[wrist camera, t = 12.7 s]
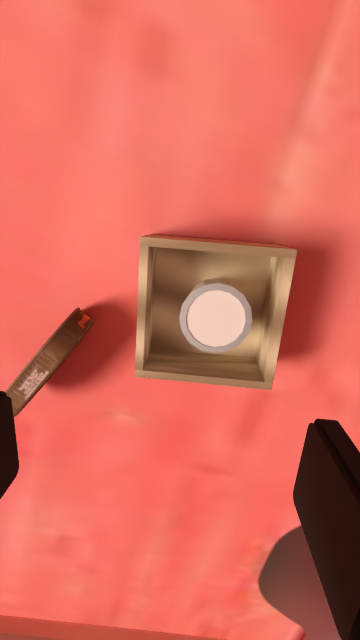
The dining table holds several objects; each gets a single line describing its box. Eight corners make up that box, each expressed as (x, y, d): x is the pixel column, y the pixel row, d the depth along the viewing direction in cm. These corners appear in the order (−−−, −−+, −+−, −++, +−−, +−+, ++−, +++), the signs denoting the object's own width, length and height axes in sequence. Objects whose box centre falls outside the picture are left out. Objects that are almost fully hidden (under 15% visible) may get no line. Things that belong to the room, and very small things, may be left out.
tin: (86, 298, 38) (56, 319, 30) (106, 315, 39) (82, 340, 30) (19, 379, 42) (-24, 416, 34) (38, 393, 42) (1, 433, 34)
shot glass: (173, 316, 37) (167, 336, 30) (198, 262, 35) (197, 270, 28) (226, 340, 37) (232, 364, 31) (253, 288, 35) (266, 302, 29)
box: (151, 234, 35) (140, 236, 29) (278, 244, 35) (297, 249, 28) (145, 350, 39) (134, 376, 33) (258, 361, 39) (271, 389, 32)
